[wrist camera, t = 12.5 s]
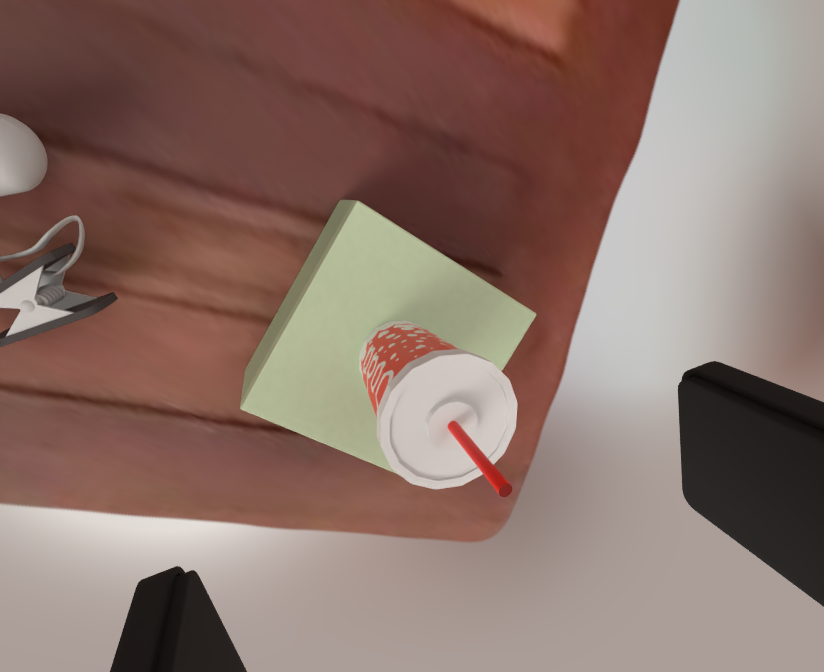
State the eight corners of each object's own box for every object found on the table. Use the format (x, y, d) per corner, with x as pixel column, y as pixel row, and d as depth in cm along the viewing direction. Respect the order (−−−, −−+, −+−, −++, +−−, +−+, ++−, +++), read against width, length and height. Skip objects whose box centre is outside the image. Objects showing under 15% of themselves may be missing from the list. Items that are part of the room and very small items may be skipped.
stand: (340, 199, 32) (357, 199, 26) (492, 294, 37) (537, 314, 31) (244, 370, 33) (239, 409, 27) (404, 441, 38) (430, 488, 32)
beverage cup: (383, 286, 28) (488, 367, 15) (466, 339, 30) (621, 450, 17) (324, 377, 28) (376, 535, 15) (410, 423, 30) (519, 594, 17)
